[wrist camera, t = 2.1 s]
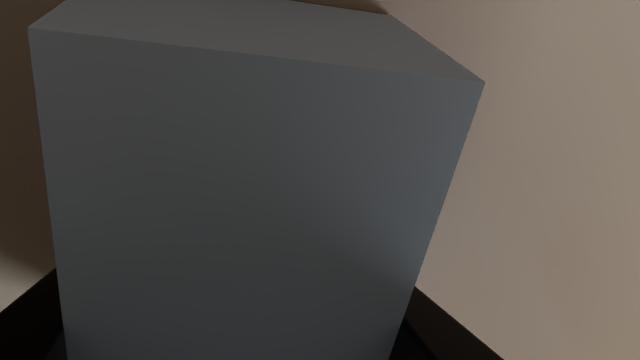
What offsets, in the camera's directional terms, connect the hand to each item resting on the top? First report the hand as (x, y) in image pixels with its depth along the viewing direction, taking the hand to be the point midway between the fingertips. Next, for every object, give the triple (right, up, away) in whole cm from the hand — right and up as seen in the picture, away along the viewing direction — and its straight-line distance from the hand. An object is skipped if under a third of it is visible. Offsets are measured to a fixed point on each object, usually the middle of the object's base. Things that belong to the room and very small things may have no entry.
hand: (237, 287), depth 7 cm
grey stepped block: (0, +2, +1) cm, 2 cm away
